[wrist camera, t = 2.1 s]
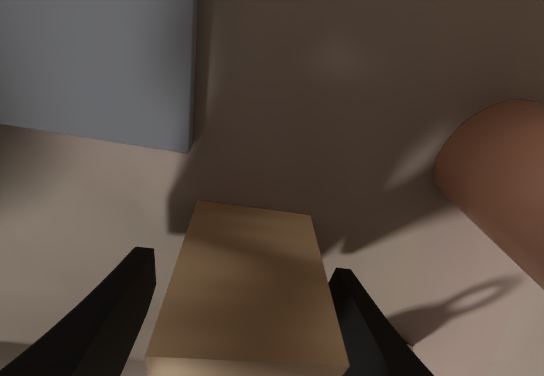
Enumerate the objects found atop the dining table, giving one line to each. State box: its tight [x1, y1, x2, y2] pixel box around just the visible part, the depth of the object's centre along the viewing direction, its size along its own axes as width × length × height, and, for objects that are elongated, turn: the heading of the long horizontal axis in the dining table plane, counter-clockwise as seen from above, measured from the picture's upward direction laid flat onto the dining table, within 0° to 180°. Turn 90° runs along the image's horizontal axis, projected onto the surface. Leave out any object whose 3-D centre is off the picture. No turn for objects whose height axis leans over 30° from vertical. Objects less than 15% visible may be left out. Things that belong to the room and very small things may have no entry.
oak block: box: [145, 200, 350, 376], centre depth 9 cm, size 4×4×6 cm
